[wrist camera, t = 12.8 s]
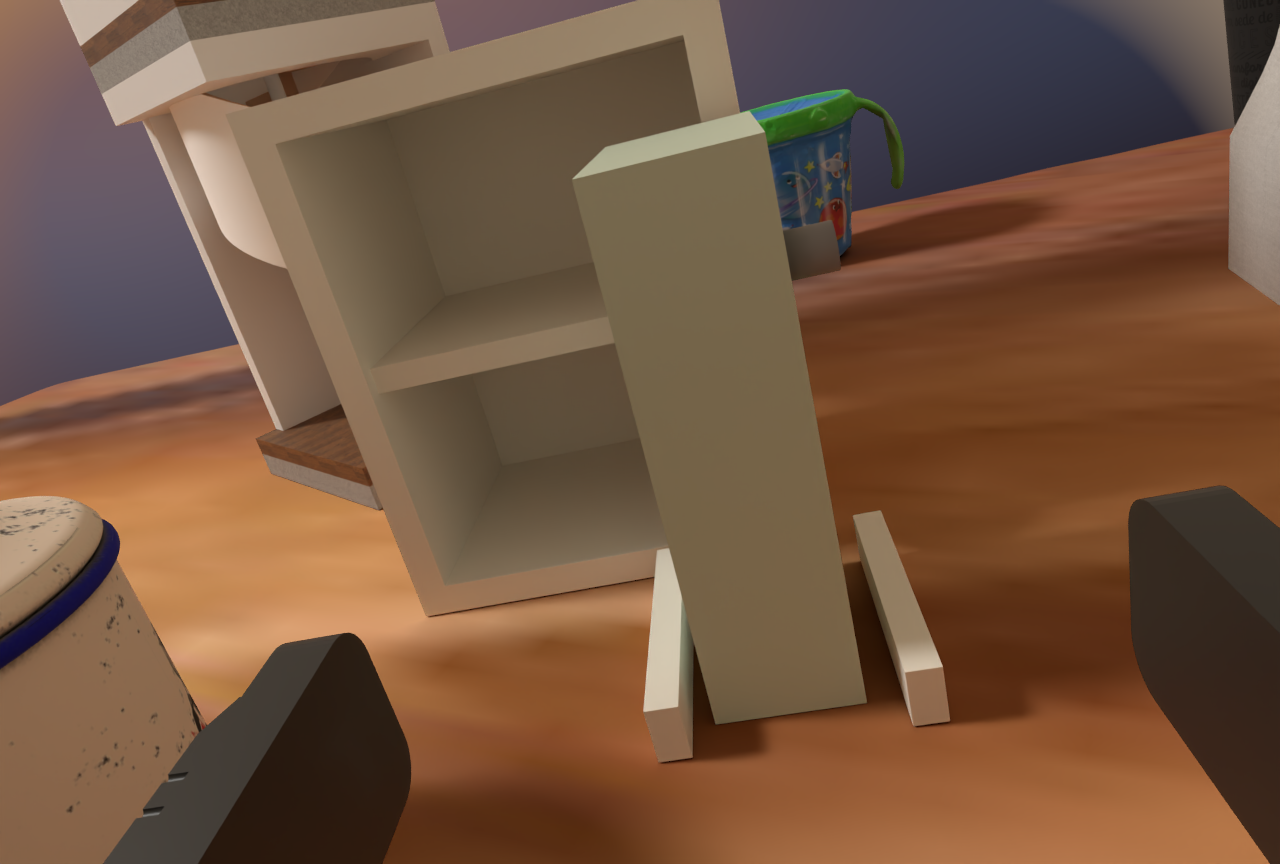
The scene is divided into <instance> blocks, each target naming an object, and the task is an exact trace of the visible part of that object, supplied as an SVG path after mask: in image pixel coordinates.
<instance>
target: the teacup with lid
mask: <svg viewBox="0 0 1280 864" xmlns="http://www.w3.org/2000/svg"><path fill="white" fill-rule="evenodd" d="M119 549H120V540H119V536H118V533H117V531H116V530H115V529H114V527H113V526H112V525H111V524H110V523H108V522H107V521H105V520H104V519H101V517H100V516H99V514H98V513H97V512H96V511H94V510H93V509H91V508H90V507H88V506H86V505H84V504H82V503H81V502H78V501H75V500H72V499H69V498H63V497H55V496H35V497H25V498H16V499H10V500H4V501H0V864H103V863H104V861H105V860H106V859H107V857H108V856H109V855H110V853H111V852H112V850H113V849H114V848H115V846H116V845H117V844H118V842H119V841H120V839H121V838H122V837H123V835H124V834H125V833H126V831H127V830H128V829H129V827H130V826H131V824H132V823H133V822H134V820H135V819H136V818H141V817H143V808H144V807H145V805H146V804H147V803H148V801H149V800H150V798H151V797H152V796H153V794H154V793H155V792H156V790H157V789H158V787H159V786H160V785H161V783H166V782H168V774H169V772H170V771H171V770H172V768H173V767H174V766H175V764H176V763H177V761H178V760H179V759H180V757H181V756H182V755H183V753H184V752H185V751H186V749H187V748H188V746H189V745H190V744H191V742H192V741H193V740H194V738H195V737H196V735H197V734H198V733H199V732H201V731H202V730H203V729H204V728H205V727H206V726H207V725H206V723H205V721H204V719H203V717H202V715H201V714H200V712H199V710H198V708H197V706H196V704H195V703H194V701H193V699H192V697H191V695H190V693H189V692H188V690H187V688H186V686H185V684H184V682H183V681H182V679H181V677H180V675H179V673H178V671H177V670H176V668H175V666H174V664H173V662H172V660H171V658H170V657H169V655H168V653H167V651H166V649H165V647H164V646H163V644H162V642H161V640H160V638H159V636H158V635H157V633H156V631H155V629H154V627H153V625H152V624H151V622H150V620H149V618H148V616H147V614H146V613H145V611H144V609H143V607H142V605H141V603H140V602H139V600H138V598H137V596H136V594H135V592H134V591H133V589H132V587H131V585H130V583H129V581H128V580H127V578H126V576H125V574H124V572H123V570H122V568H121V567H120V565H119V563H118V561H117V556H118V554H119Z"/></svg>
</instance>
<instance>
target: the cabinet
mask: <svg viewBox="0 0 1280 864" xmlns="http://www.w3.org/2000/svg"><path fill="white" fill-rule="evenodd" d="M739 113H740V110H739V105H738V100H737V94H736V89H735V84H734V79H733V73H732V68H731V63H730V57H729V52H728V47H727V42H726V36H725V31H724V25H723V20H722V15H721V10H720V4H719V0H637V1H634V2H630V3H627V4H623V5H619V6H616V7H612V8H609V9H605V10H601V11H598V12H594V13H591V14H587V15H584V16H580V17H576V18H572V19H569V20H565V21H562V22H558V23H554V24H551V25H547V26H544V27H540V28H536V29H532V30H529V31H526V32H522V33H518V34H514V35H511V36H507V37H503V38H500V39H497V40H493V41H489V42H485V43H482V44H478V45H475V46H471V47H467V48H464V49H460V50H456V51H453V52H449V53H445V54H442V55H438V56H435V57H431V58H427V59H424V60H420V61H416V62H413V63H409V64H406V65H402V66H398V67H395V68H391V69H387V70H384V71H380V72H377V73H373V74H369V75H366V76H362V77H359V78H355V79H351V80H348V81H344V82H340V83H337V84H333V85H330V86H326V87H322V88H319V89H315V90H311V91H308V92H304V93H301V94H297V95H293V96H290V97H286V98H282V99H279V100H275V101H272V102H268V103H264V104H261V105H257V106H253V107H250V108H246V109H243V110H239V111H235V112H232V113H228V114H225V115H226V117H227V120H228V122H229V125H230V127H231V130H232V132H233V135H234V137H235V140H236V142H237V145H238V147H239V150H240V152H241V155H242V157H243V160H244V162H245V165H246V167H247V170H248V172H249V175H250V177H251V180H252V182H253V185H254V187H255V190H256V192H257V195H258V197H259V200H260V202H261V205H262V207H263V210H264V212H265V215H266V217H267V220H268V222H269V225H270V227H271V230H272V232H273V235H274V237H275V240H276V242H277V245H278V247H279V250H280V252H281V255H282V257H283V260H284V262H285V265H286V267H287V270H288V272H289V275H290V277H291V280H292V282H293V285H294V287H295V290H296V292H297V295H298V297H299V300H300V302H301V305H302V307H303V310H304V312H305V315H306V317H307V320H308V322H309V325H310V327H311V330H312V332H313V335H314V337H315V340H316V342H317V345H318V347H319V350H320V352H321V355H322V357H323V360H324V362H325V365H326V367H327V370H328V372H329V375H330V377H331V380H332V382H333V385H334V387H335V390H336V392H337V395H338V397H339V400H340V402H341V405H342V407H343V410H344V412H345V415H346V417H347V420H348V422H349V425H350V427H351V430H352V432H353V435H354V437H355V440H356V442H357V445H358V447H359V450H360V452H361V455H362V457H363V460H364V462H365V465H366V467H367V470H368V472H369V475H370V477H371V480H372V482H373V485H374V487H375V490H376V492H377V495H378V497H379V500H380V502H381V505H382V507H383V510H384V512H385V515H386V517H387V520H388V522H389V525H390V527H391V530H392V532H393V535H394V537H395V540H396V542H397V545H398V547H399V550H400V552H401V555H402V557H403V560H404V562H405V565H406V567H407V570H408V572H409V575H410V577H411V580H412V582H413V585H414V587H415V589H416V592H417V594H418V597H419V599H420V602H421V604H422V607H423V609H424V612H425V614H426V616H432V615H438V614H444V613H449V612H455V611H461V610H466V609H472V608H478V607H484V606H489V605H495V604H501V603H507V602H512V601H518V600H524V599H529V598H535V597H541V596H547V595H552V594H558V593H564V592H570V591H575V590H581V589H587V588H593V587H598V586H604V585H610V584H615V583H621V582H627V581H633V580H638V579H644V578H650V577H655V580H654V592H653V604H652V616H651V628H650V640H649V652H648V664H647V675H646V687H645V699H644V711H643V712H644V716H645V719H646V722H647V725H648V729H649V732H650V735H651V739H652V742H653V745H654V749H655V752H656V755H657V759H658V762H666V761H673V760H680V759H687V758H693V649H694V641H693V637H692V633H691V630H690V626H689V622H688V618H687V614H686V611H685V607H684V603H683V599H682V595H681V592H680V588H679V584H678V580H677V576H676V573H675V569H674V565H673V561H672V558H671V554H670V550H669V546H668V542H667V539H666V535H665V531H664V527H663V523H662V520H661V516H660V512H659V508H658V505H657V501H656V497H655V493H654V489H653V486H652V482H651V478H650V474H649V470H648V467H647V463H646V459H645V455H644V451H643V448H642V444H641V440H640V436H639V433H638V429H637V425H636V421H635V417H634V414H633V410H632V406H631V402H630V398H629V395H628V391H627V387H626V383H625V380H624V376H623V372H622V368H621V364H620V361H619V357H618V353H617V349H616V345H615V342H614V338H613V334H612V330H611V326H610V323H609V319H608V315H607V311H606V308H605V304H604V300H603V296H602V292H601V289H600V285H599V281H598V277H597V273H596V270H595V266H594V262H593V258H592V255H591V251H590V247H589V243H588V239H587V236H586V232H585V228H584V224H583V220H582V217H581V213H580V209H579V205H578V201H577V198H576V194H575V190H574V186H573V183H572V179H573V178H574V177H575V176H576V175H577V174H578V173H579V172H580V171H581V170H582V169H583V168H584V167H585V166H586V165H587V164H588V163H589V162H590V161H591V160H593V159H594V158H595V157H596V156H597V155H598V154H599V153H600V152H601V151H602V150H603V149H604V148H605V147H608V146H612V145H616V144H620V143H624V142H628V141H632V140H636V139H640V138H644V137H648V136H652V135H656V134H660V133H664V132H668V131H672V130H675V129H679V128H683V127H687V126H691V125H695V124H699V123H703V122H707V121H711V120H715V119H719V118H723V117H727V116H731V115H735V114H739ZM853 520H854V526H855V532H856V538H857V543H858V549H859V555H860V560H861V563H862V566H863V570H864V573H865V576H866V579H867V582H868V585H869V588H870V592H871V595H872V598H873V601H874V604H875V607H876V610H877V614H878V617H879V620H880V623H881V626H882V629H883V632H884V636H885V639H886V642H887V645H888V648H889V651H890V654H891V658H892V661H893V664H894V667H895V670H896V673H897V676H898V680H899V683H900V686H901V689H902V692H903V695H904V698H905V702H906V705H907V708H908V711H909V714H910V717H911V720H912V724H913V726H919V725H926V724H933V723H940V722H947V721H950V715H949V708H948V700H947V693H946V686H945V678H944V671H943V666H942V663H941V661H940V658H939V656H938V653H937V651H936V648H935V646H934V643H933V640H932V638H931V635H930V633H929V630H928V628H927V625H926V623H925V620H924V618H923V615H922V613H921V610H920V608H919V605H918V603H917V600H916V598H915V595H914V593H913V590H912V588H911V585H910V583H909V580H908V578H907V575H906V573H905V570H904V567H903V565H902V562H901V560H900V557H899V555H898V552H897V550H896V547H895V545H894V542H893V540H892V537H891V535H890V532H889V530H888V527H887V525H886V522H885V520H884V517H883V515H882V512H881V510H879V511H873V512H868V513H862V514H857V515H853Z"/></svg>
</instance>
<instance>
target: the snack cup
mask: <svg viewBox="0 0 1280 864" xmlns="http://www.w3.org/2000/svg"><path fill="white" fill-rule="evenodd" d="M861 108H865V109H867V110H868V111H870V112H872V113H874V114H876V115H878V116H879V117H881V118H883V121H884V127H885V132H886V138H887V143H888V148H889V153H890V158H891V163H892V167H893V172H892V179H891V184H892V186H893V187H894V188H896V189H899V188H900V187H901V184H902V181H903V173H904V153H903V148H902V143H901V139H900V135H899V133H898V130H897V128H896V125H895V124H894V122H893V120H892V118H891V117H890V116H889V114H888V113H887V112H886V111H885V110H884V109H883V108H882V107H880V106H879V105H878V104H876V103H874V102H872V101H870V100H867V99H863V98H857V97H855V96H854V95H853V93H852V92H851V91H850V90H835V91H828V92H822V93H817V94H812V95H807V96H803V97H798V98H794V99H790V100H786V101H781V102H778V103H774V104H770V105H766V106H763V107H759V108H755V109H752V110H748V111H750V112H751V114H752V115H753V116H754V118H755V119H756V120H757V122H758V123H759V124H760V126H761V127H762V129H763V130H764V131H765V134H766V140H767V145H768V151H769V156H770V162H771V168H772V173H773V179H774V184H775V190H776V196H777V201H778V207H779V212H780V218H781V224H782V229H783V231H784V230H788V229H793V228H797V227H802V226H806V225H810V224H815V223H819V222H823V221H828V220H832V222H833V225H834V229H835V233H836V237H837V242H838V248H839V255H840V256H841V255H842V254H843V253H844V252H845V251H846V250H847V248H849V247H850V246H851V234H852V231H851V213H852V212H851V208H852V206H851V156H850V133H851V120H852V118H853V116H854V114H855V113H856V111H857V110H859V109H861ZM744 112H747V111H744ZM741 113H743V112H741Z"/></svg>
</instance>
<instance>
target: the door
mask: <svg viewBox="0 0 1280 864" xmlns="http://www.w3.org/2000/svg"><path fill="white" fill-rule="evenodd" d="M572 183H573V186H574V190H575V194H576V198H577V201H578V205H579V209H580V213H581V217H582V220H583V224H584V228H585V232H586V236H587V239H588V243H589V247H590V251H591V255H592V258H593V262H594V266H595V270H596V273H597V277H598V281H599V285H600V289H601V292H602V296H603V300H604V304H605V308H606V311H607V315H608V319H609V323H610V326H611V330H612V334H613V338H614V342H615V345H616V349H617V353H618V357H619V361H620V364H621V368H622V372H623V376H624V380H625V383H626V387H627V391H628V395H629V398H630V402H631V406H632V410H633V414H634V417H635V421H636V425H637V429H638V433H639V436H640V440H641V444H642V448H643V451H644V455H645V459H646V463H647V467H648V470H649V474H650V478H651V482H652V486H653V489H654V493H655V497H656V501H657V505H658V508H659V512H660V516H661V520H662V523H663V527H664V531H665V535H666V539H667V542H668V546H669V550H670V554H671V558H672V561H673V565H674V569H675V573H676V576H677V580H678V584H679V588H680V592H681V595H682V599H683V603H684V607H685V611H686V614H687V618H688V622H689V626H690V630H691V633H692V637H693V641H694V645H695V648H696V652H697V656H698V660H699V664H700V667H701V671H702V675H703V679H704V683H705V686H706V690H707V694H708V698H709V701H710V705H711V709H712V713H713V717H714V720H715V724H723V723H730V722H737V721H744V720H751V719H758V718H765V717H772V716H779V715H786V714H793V713H800V712H807V711H814V710H821V709H828V708H835V707H842V706H849V705H856V704H863V703H867V699H866V694H865V688H864V682H863V677H862V671H861V666H860V660H859V654H858V649H857V643H856V638H855V632H854V626H853V621H852V615H851V610H850V604H849V598H848V593H847V587H846V582H845V576H844V571H843V565H842V559H841V554H840V548H839V543H838V537H837V531H836V526H835V520H834V515H833V509H832V503H831V498H830V492H829V487H828V481H827V475H826V470H825V464H824V459H823V453H822V447H821V442H820V436H819V431H818V425H817V419H816V414H815V408H814V403H813V397H812V391H811V386H810V380H809V375H808V369H807V363H806V358H805V352H804V347H803V341H802V335H801V330H800V324H799V319H798V313H797V307H796V302H795V296H794V291H793V285H792V281H793V280H798V279H802V278H807V277H812V276H816V275H821V274H825V273H830V272H834V271H839V270H840V269H841V264H840V255H839V248H838V242H837V237H836V233H835V229H834V225H833V222H832V220H828V221H823V222H819V223H815V224H810V225H806V226H802V227H797V228H793V229H788V230H784V231H783V229H782V224H781V218H780V212H779V207H778V201H777V196H776V190H775V184H774V179H773V173H772V168H771V162H770V156H769V151H768V145H767V140H766V134H765V131H764V130H763V129H762V127H761V126H760V124H759V123H758V122H757V120H756V119H755V118H754V116H753V115H752V114H751V112H750V111H747V112H743V113H739V114H735V115H731V116H727V117H723V118H719V119H715V120H711V121H707V122H703V123H699V124H695V125H691V126H687V127H683V128H679V129H675V130H672V131H668V132H664V133H660V134H656V135H652V136H648V137H644V138H640V139H636V140H632V141H628V142H624V143H620V144H616V145H612V146H608V147H605V148H604V149H603V150H602V151H601V152H600V153H599V154H598V155H597V156H596V157H595V158H594V159H593V160H591V161H590V162H589V163H588V164H587V165H586V166H585V167H584V168H583V169H582V170H581V171H580V172H579V173H578V174H577V175H576V176H575V177H574V178H573V179H572Z"/></svg>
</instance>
